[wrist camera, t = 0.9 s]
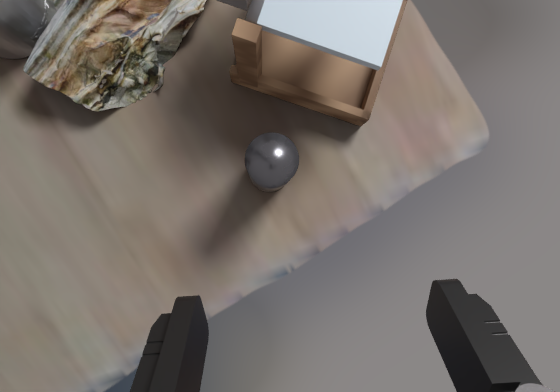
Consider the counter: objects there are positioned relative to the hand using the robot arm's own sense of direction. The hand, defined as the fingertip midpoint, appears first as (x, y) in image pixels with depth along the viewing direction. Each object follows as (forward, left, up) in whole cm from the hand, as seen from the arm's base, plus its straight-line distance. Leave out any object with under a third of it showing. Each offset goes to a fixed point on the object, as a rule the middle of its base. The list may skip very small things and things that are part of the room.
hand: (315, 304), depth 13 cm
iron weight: (-3, +7, -26) cm, 27 cm away
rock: (-22, +18, -27) cm, 39 cm away
